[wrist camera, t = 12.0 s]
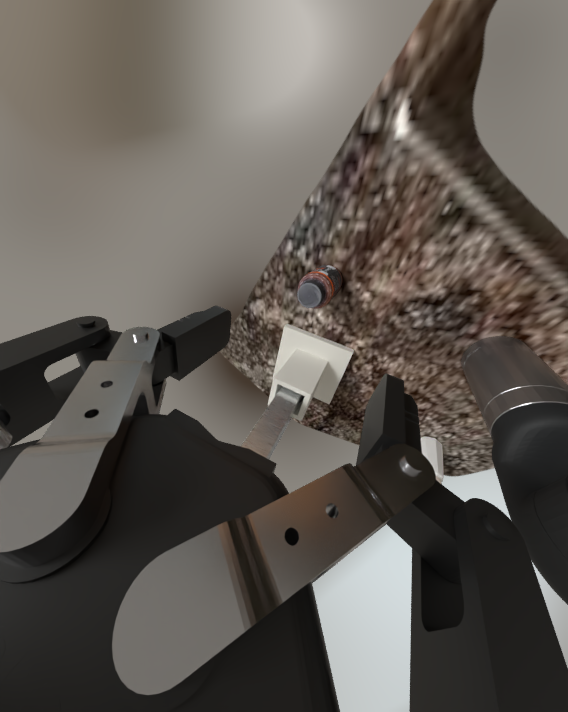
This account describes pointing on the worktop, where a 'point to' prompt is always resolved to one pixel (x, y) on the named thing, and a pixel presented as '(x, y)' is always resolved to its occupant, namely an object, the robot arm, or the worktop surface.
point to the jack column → (273, 423)
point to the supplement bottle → (319, 286)
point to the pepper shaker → (433, 455)
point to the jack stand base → (308, 367)
